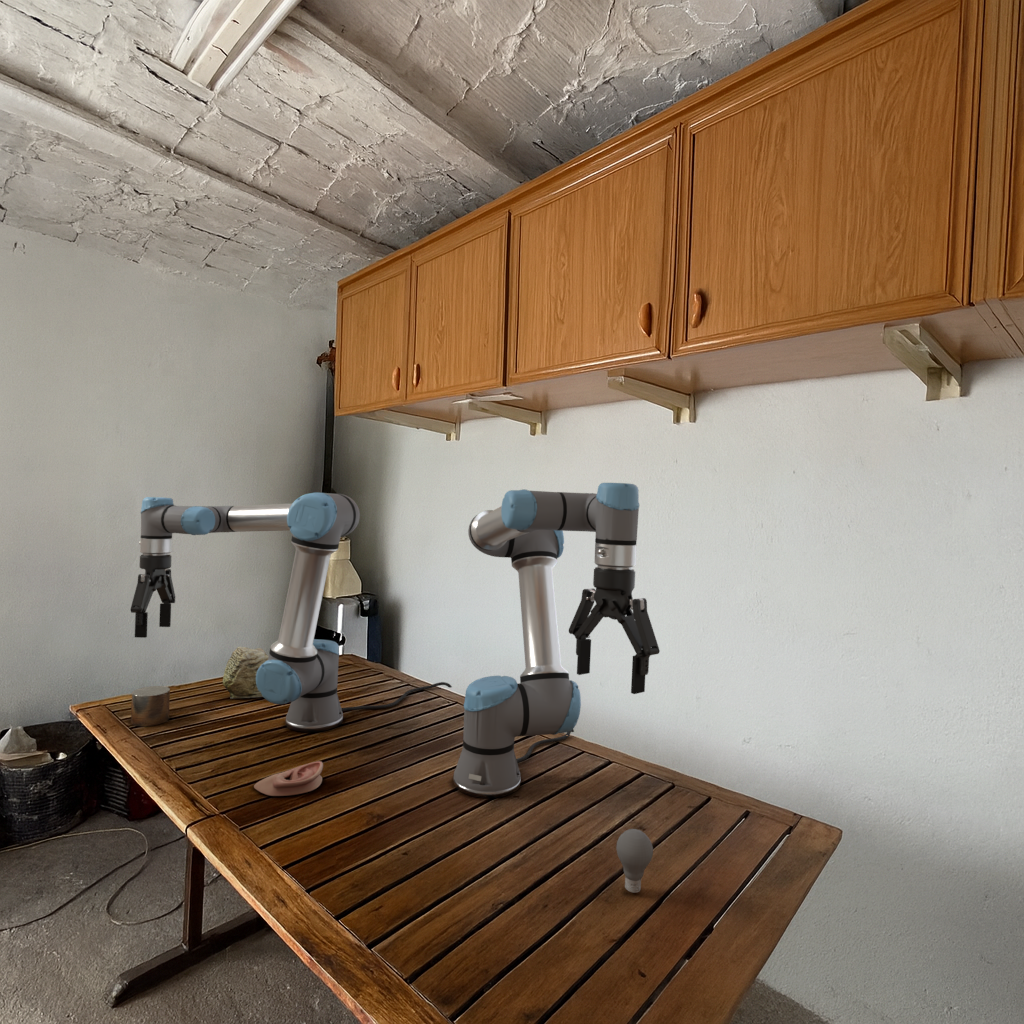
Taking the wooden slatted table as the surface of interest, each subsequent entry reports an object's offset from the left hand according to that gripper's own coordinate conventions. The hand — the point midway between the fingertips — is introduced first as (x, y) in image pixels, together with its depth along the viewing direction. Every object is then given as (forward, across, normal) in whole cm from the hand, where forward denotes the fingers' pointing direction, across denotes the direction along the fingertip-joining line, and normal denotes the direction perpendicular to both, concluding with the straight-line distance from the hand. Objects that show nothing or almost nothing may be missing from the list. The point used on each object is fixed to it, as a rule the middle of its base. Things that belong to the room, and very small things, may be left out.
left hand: (153, 631), depth 172 cm
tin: (+24, 0, 0) cm, 24 cm away
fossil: (+24, -24, +20) cm, 39 cm away
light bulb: (+24, +77, +113) cm, 139 cm away
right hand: (-7, +66, +110) cm, 128 cm away
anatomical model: (+24, +39, +47) cm, 66 cm away
